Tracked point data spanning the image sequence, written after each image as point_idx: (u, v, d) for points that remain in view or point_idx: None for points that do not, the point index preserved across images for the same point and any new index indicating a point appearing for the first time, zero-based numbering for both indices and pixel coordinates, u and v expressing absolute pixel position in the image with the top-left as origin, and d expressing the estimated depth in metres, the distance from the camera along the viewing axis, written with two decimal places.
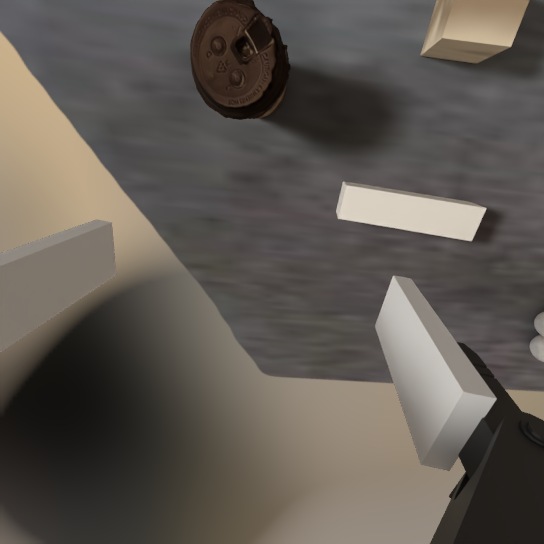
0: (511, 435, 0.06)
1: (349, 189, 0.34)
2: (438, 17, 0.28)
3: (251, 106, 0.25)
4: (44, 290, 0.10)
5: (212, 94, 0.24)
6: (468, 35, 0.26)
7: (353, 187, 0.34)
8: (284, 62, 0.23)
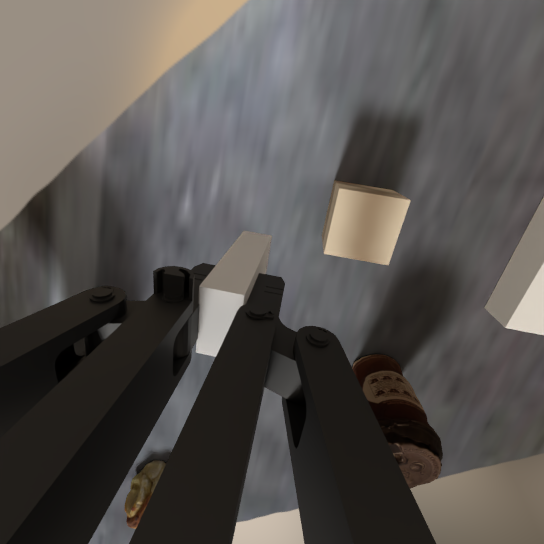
0: (240, 321, 0.08)
1: (512, 324, 0.30)
2: None
3: (439, 457, 0.27)
4: None
5: (423, 483, 0.28)
6: (391, 242, 0.26)
7: (510, 321, 0.29)
8: (409, 429, 0.27)
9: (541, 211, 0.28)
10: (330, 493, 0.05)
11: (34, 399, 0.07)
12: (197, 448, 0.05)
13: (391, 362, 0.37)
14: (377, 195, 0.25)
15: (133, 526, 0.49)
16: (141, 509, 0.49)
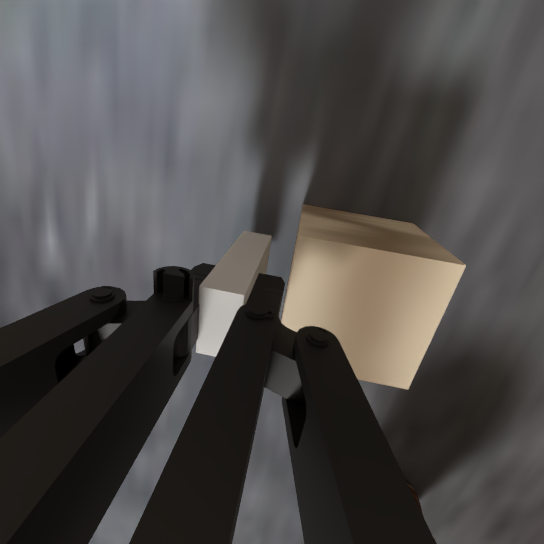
0: (239, 321, 0.08)
1: None
2: None
3: None
4: None
5: None
6: (415, 349, 0.12)
7: None
8: None
9: None
10: (330, 493, 0.05)
11: (34, 399, 0.07)
12: (197, 448, 0.05)
13: None
14: (387, 252, 0.10)
15: None
16: None
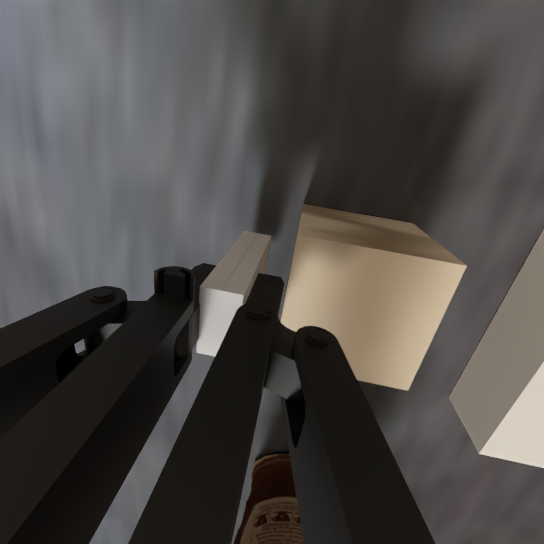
0: (239, 321, 0.08)
1: (491, 450, 0.16)
2: None
3: None
4: None
5: None
6: (415, 349, 0.12)
7: (488, 444, 0.16)
8: None
9: None
10: (329, 492, 0.05)
11: (35, 399, 0.07)
12: (196, 448, 0.05)
13: None
14: (387, 252, 0.10)
15: None
16: None
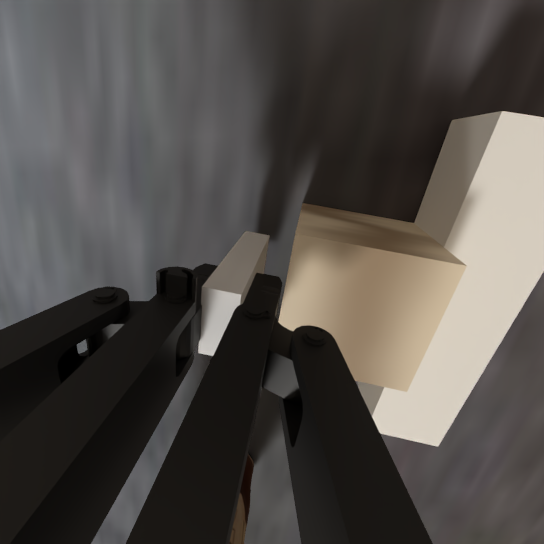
0: (236, 320, 0.08)
1: (377, 426, 0.16)
2: None
3: None
4: None
5: None
6: (414, 350, 0.12)
7: None
8: None
9: (420, 220, 0.15)
10: (325, 492, 0.05)
11: (37, 400, 0.07)
12: (194, 447, 0.05)
13: None
14: (386, 252, 0.10)
15: None
16: None
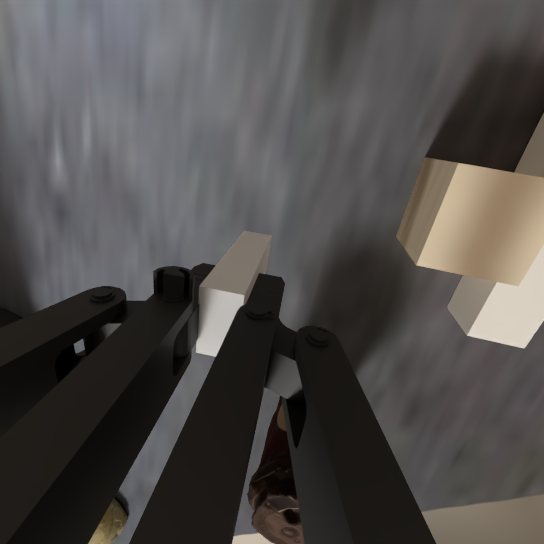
0: (239, 321, 0.08)
1: (476, 331, 0.21)
2: None
3: None
4: None
5: None
6: (530, 251, 0.16)
7: (474, 326, 0.21)
8: None
9: (522, 168, 0.19)
10: (330, 492, 0.05)
11: (34, 399, 0.07)
12: (197, 448, 0.05)
13: None
14: (522, 175, 0.15)
15: None
16: None
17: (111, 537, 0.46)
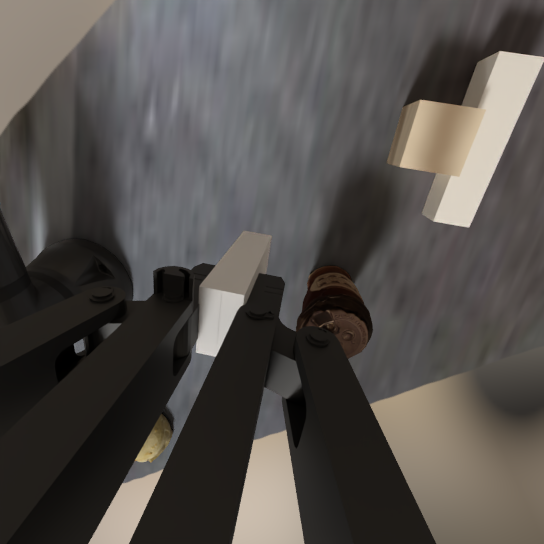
0: (239, 321, 0.08)
1: (439, 217, 0.33)
2: None
3: (367, 326, 0.30)
4: None
5: (355, 353, 0.31)
6: (463, 153, 0.28)
7: (437, 214, 0.33)
8: (339, 299, 0.30)
9: None
10: (330, 493, 0.05)
11: (34, 399, 0.07)
12: (197, 448, 0.05)
13: (341, 271, 0.40)
14: (455, 106, 0.27)
15: None
16: None
17: (162, 443, 0.57)
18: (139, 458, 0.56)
